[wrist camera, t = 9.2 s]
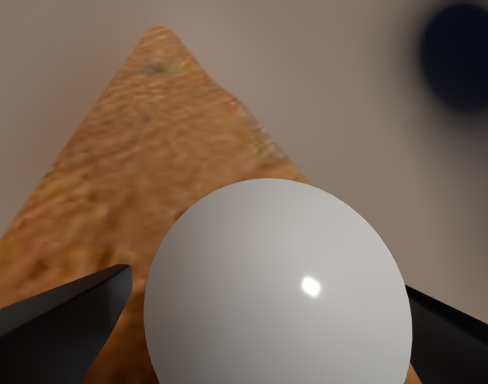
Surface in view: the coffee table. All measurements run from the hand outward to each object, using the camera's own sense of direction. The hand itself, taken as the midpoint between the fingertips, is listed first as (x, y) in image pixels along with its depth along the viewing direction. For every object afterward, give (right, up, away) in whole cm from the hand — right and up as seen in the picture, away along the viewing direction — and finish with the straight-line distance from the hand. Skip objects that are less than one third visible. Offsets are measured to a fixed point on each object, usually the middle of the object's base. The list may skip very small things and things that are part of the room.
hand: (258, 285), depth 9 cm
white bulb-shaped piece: (0, -5, +6) cm, 8 cm away
